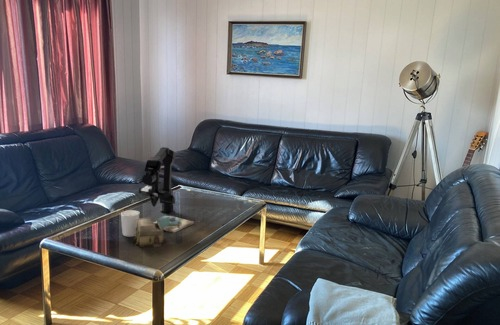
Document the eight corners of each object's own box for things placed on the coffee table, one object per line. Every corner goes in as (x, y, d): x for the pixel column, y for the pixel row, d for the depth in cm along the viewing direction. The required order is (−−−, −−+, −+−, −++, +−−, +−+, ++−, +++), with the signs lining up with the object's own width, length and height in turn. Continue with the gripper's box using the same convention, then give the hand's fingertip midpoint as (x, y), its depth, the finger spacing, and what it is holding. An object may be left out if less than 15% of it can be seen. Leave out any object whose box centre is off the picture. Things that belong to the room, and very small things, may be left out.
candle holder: (143, 232, 222) (143, 211, 220) (132, 238, 213) (132, 217, 211) (128, 229, 225) (128, 209, 223) (117, 235, 216) (116, 214, 214)
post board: (149, 225, 232) (149, 217, 231) (170, 217, 248) (170, 209, 247) (174, 232, 224) (174, 224, 223) (193, 223, 239) (193, 215, 238)
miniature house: (137, 249, 200) (136, 227, 198) (133, 239, 213) (132, 218, 211) (167, 245, 206) (167, 224, 204) (161, 235, 219) (161, 216, 217)
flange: (170, 218, 242) (170, 210, 241) (184, 221, 238) (184, 213, 237) (152, 225, 228) (152, 217, 227) (166, 229, 224) (166, 221, 223)
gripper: (131, 180, 226) (131, 206, 229) (156, 186, 217) (156, 213, 220) (145, 176, 236) (145, 202, 239) (170, 182, 227) (170, 208, 230)
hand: (154, 206), depth 232 cm, fingers closed
